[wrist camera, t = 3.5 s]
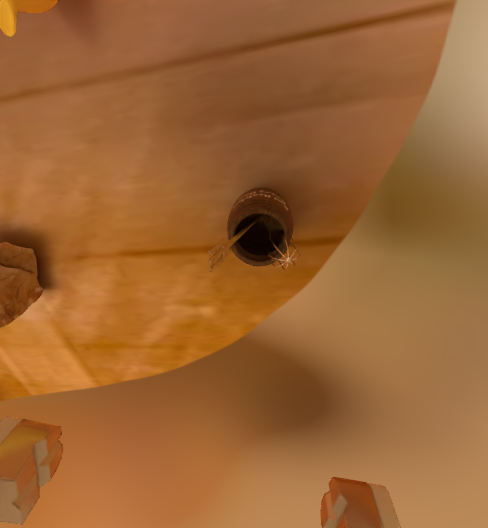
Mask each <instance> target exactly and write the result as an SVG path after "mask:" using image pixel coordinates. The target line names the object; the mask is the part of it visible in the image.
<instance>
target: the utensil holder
mask: <svg viewBox="0 0 488 528" xmlns="http://www.w3.org/2000/svg"><path fill="white" fill-rule="evenodd" d="M227 230H228V238H229V241H228V239H227V238H223V239H222V240H221V241H219V242H218V243H217V244H216V245H215V246H214V247H213V248H212V249H211V250H210V251H209V252H208V254H209V255H211V254H213V253H214V252H215V251H216V250H218V249H219V248H220V250H219V251H218V252H217V253H216V254H214V255H213V256H212V257H211V258H210V259H209V263H210V264H211V263H212V262H213V261H215V260H216V259H217V258H218V257H219V256H220V255H221V256H220V258H219V259H218V260H217V261H216V262H215V263H214V264H213V265H212V266H211V267H210V268H209V271H210V272H212V271H213V270H214V269H215V268H216V267H217V266H218V265H219V264H220V263H221V262H223V261H224V260H225V259H226V258H227V257H228V253H229V248H230V246H231V249H232V251H233V252H234V254H235V255H236V256H237V257H238V258H239V259H240V260H241V261H243V262H245V263H247V264H249V265H253V266H266V265H270V264H272V265H273V263H274V262H276V261H278V260H279V259H280V258H281V257H282V256H284V254H285V252H286V251H288V246H289V244H290V240H291V237H292V232H293V222H292V217H291V213H290V210H289V207H288V205H287V203H286V202H285V200H284V199H283V198H282V197H281V196H280V195H279V194H277V193H276V192H274V191H271V190H268V189H254V190H250V191H248V192H246V193H245V194H243V195H242V196H241V197H240V198H239V199H238V200H237V201H236V203H235V204H234V206H233V208H232V211H231V213H230V216H229V219H228V226H227ZM292 240H293V239H292ZM293 241H294V240H293ZM294 243H295V241H294ZM295 244H296V243H295ZM290 245H292V244H290ZM292 246H293V245H292ZM293 247H294V246H293ZM294 248H295V247H294ZM295 250H297V249H296V248H295ZM297 252H298V250H297ZM286 253H287V252H286ZM294 253H295V251H294ZM294 253H293V254H294ZM298 253H299V252H298ZM287 255H288V254H287ZM288 256H289V255H288ZM292 256H293V255H292ZM292 256H291V257H292ZM284 257H285V256H284ZM289 257H290V256H289ZM291 257H290V258H289V259H291ZM299 257H300V254H299ZM299 257H298V258H299ZM285 258H286V257H285ZM286 259H287V258H286ZM289 259H287V260H283V261H286V262H287V261H289ZM296 259H297V258H296ZM291 260H295V259H291ZM279 262H280V261H279ZM286 262H285V263H286ZM289 262H290V261H289ZM292 262H293V261H292ZM285 263H283V264H285ZM290 263H291V262H290ZM293 263H294V262H293ZM280 264H281V263H280ZM283 264H282V265H283ZM291 264H292V263H291ZM282 265H280V266H282ZM292 265H293V264H292ZM273 266H274V265H273ZM287 266H288V262H287ZM294 266H295V264H294ZM275 267H278V266H275ZM282 267H283V266H282ZM283 269H284V268H283ZM286 269H287V267H286ZM286 269H284V270H286Z"/></svg>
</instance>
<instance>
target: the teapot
mask: <svg viewBox="0 0 488 528" xmlns="http://www.w3.org/2000/svg"><path fill="white" fill-rule="evenodd" d="M57 2H58V0H0V28H1V29H2V31H3V32H4V33H5V34H6V35H7V36H10V37H12V36H13V35H14V34H15V32H16V19H17V13H18V11H21V12H25V13H41V12H45V11H47V10H50V9H51V8H52V7H53V6H54V5H55V4H56V3H57Z"/></svg>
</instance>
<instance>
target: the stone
mask: <svg viewBox="0 0 488 528" xmlns="http://www.w3.org/2000/svg"><path fill="white" fill-rule="evenodd" d="M36 262H37V259H36V256H35V253H34V250H33V249H30V248H24V247H18V246H15V245H12V244H9V243H7V242H3V243H0V328H1V327H3V326H5V325H7V324H9V323H11V322H12V321H13V320H15V319H16V318H17V317H18V316H20V315H22V314H23V313H24V312H25V311H26V310H27V309H28V307H29V306H30V305H31V304H32V303H34V302H36V301H37V299H38V298H39V297H40V296H41V295H42V293H43V289H42V288H41V287H40V285H39V283H38V280H37V278H36V277H38V273H37V265H36Z"/></svg>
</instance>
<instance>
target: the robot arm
mask: <svg viewBox="0 0 488 528" xmlns="http://www.w3.org/2000/svg"><path fill="white" fill-rule="evenodd" d="M61 434H62V433H61V427H60V426H56V425H51V424H46V423H40V422H36V421H31V420H26V419H22V418H16V417H11V416H7V417H5V418H4V419H3V420H1V421H0V521H2V522H9V523H15V524H23V523H24V521H25V520H26V518H27V517H28V515H29V513H30V512H31V510H32V509H33V507H34V505H35V504H36V502H37V500H38V499H39V498H40V495H39V494H40V493H39V492H40V491H39V488H40V487H41V486H43V485H44V484H46V483H47V482H49V481H50V480H51V478H52V477H53V475H54V473H55V472H56V470H57V468H58V466H59V463H60V460H61V458H62V453H63V445H62V444H61V442H60V441H59V440H58V439H59V437H60V436H61ZM329 488H330V491H328V492H327V493H325V494H324V496H323V499H322V504H321V525H322V528H401V526H400V524H399V521H398V518H397V515H396V512H395V509H394V506H393V503H392V501H391V498H390V495H389V492H388V490H387V489H386V487H384V486H382V485H376V484H370V483H366V482H361V481H355V480H349V479H343V478H337V477H333V478H331V480H330V482H329Z"/></svg>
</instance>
